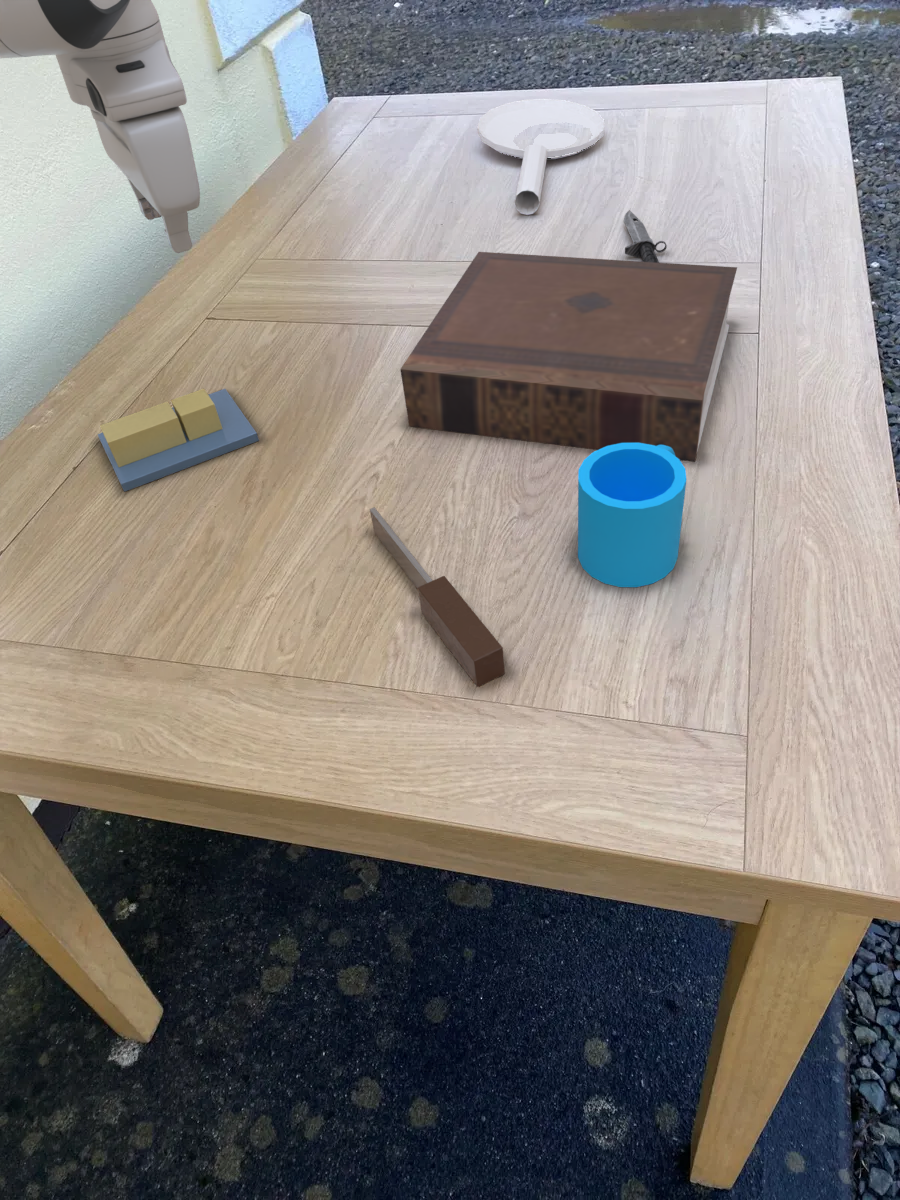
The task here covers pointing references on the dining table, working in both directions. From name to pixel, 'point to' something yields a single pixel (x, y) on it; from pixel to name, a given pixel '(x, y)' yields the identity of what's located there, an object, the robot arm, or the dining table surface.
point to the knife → (640, 240)
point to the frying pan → (536, 139)
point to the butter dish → (192, 448)
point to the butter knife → (447, 612)
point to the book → (573, 352)
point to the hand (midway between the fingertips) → (167, 232)
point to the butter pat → (197, 414)
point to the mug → (630, 513)
